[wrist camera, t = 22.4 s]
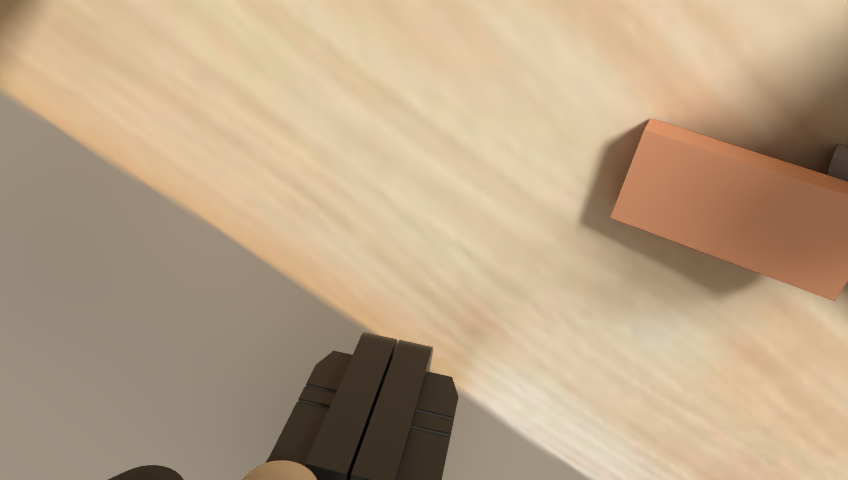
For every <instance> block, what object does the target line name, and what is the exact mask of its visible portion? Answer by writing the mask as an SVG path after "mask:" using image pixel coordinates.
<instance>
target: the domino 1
mask: <svg viewBox="0 0 848 480" xmlns="http://www.w3.org/2000/svg"><path fill="white" fill-rule="evenodd" d="M610 218H612V219H615V220H618V221H620V222H623V223H626V224H628V225H631V226H634V227H637V228H639V229H642V230H645V231H647V232H650V233H653V234H655V235H658V236H661V237H663V238H666V239H669V240H672V241H674V242H677V243H680V244H682V245H685V246H688V247H690V248H693V249H696V250H698V251H701V252H704V253H707V254H709V255H712V256H715V257H717V258H720V259H723V260H725V261H728V262H731V263H734V264H736V265H739V266H742V267H744V268H747V269H750V270H752V271H755V272H758V273H760V274H763V275H766V276H769V277H771V278H774V279H777V280H779V281H782V282H785V283H787V284H790V285H793V286H795V287H798V288H801V289H804V290H806V291H809V292H812V293H814V294H817V295H820V296H822V297H825V298H828V299H830V300H833V301H835V300H836V298H837V297H838V295H839V293H840V292H841V290H842V289H843V287H844V286H845V284H846V283H847V281H848V182H847V181H844V180H841V179H838V178H835V177H832V176H829V175H825V174H822V173H819V172H816V171H813V170H810V169H807V168H804V167H800V166H797V165H794V164H791V163H788V162H785V161H782V160H779V159H776V158H772V157H769V156H766V155H763V154H760V153H757V152H754V151H751V150H747V149H744V148H741V147H738V146H735V145H732V144H729V143H726V142H723V141H719V140H716V139H713V138H710V137H707V136H704V135H701V134H698V133H694V132H691V131H688V130H685V129H682V128H679V127H676V126H673V125H670V124H666V123H663V122H660V121H657V120H654V119H650V120H649V122H648V124H647V126H646V127H645V129H644V132H643V134H642V137H641V139H640V142H639V145H638V147H637V150H636V152H635V155H634V158H633V160H632V163H631V165H630V168H629V170H628V173H627V176H626V178H625V181H624V183H623V186H622V189H621V191H620V194H619V196H618V199H617V201H616V204H615V207H614V209H613V212H612V214H611V217H610Z"/></svg>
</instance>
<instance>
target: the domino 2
mask: <svg viewBox="0 0 848 480" xmlns="http://www.w3.org/2000/svg"><path fill="white" fill-rule="evenodd" d="M827 175H829V176H832V177H835V178H838V179H841V180H844V181H847V182H848V146H844V145H837V147H836V150H835V152H834V155H833V157H832V160H831V163H830V167H829V170H828V173H827Z"/></svg>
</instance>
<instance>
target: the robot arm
mask: <svg viewBox="0 0 848 480" xmlns="http://www.w3.org/2000/svg"><path fill="white" fill-rule="evenodd" d="M432 353H433V347H430V346H425V345H420V344H416V343H411V342H407V341H402V340H399V342H398V344H397V339H393V338H388V337H383V336H379V335H374V334H370V333H365V332H364V333H363V334H362V335H361V338H360V340H359V342H358V344H357V347H356V349H355V351H354V353H353V355H350V354H346V353H342V352H337V351H333V352H332V353H330V354H329V355H328V356H327V357H325V358H324V359H323V360H321V361H320V362H319V363H318V364H316V366H315V368H314V370H313V372H312V373H311V375H310V378H309V380H308V381H307V384H306V387H304V389H303V391H302V393H301V395H300V397H299V401H298V402H297V403H296V405H295V407H294V409H293V411H292V413H291V415H290V417H289V419H288V421H287V423H286V425H285V427H284V429H283V431H282V433H281V435H280V437H279V439H278V441H277V443H276V445H275V447H274V449H273V450H272V452H271V455H270V456H269V458H268V460H267V461H266V463H264V464H262V465H259V466H257V467H256V468H254V469H253V470H251V471H250V472H249V473H248V474H247V475H246V476H245V477H244V478H243V479H242V480H442V475H443V470H444V465H445V460H446V455H447V451H448V446H449V441H450V436H451V430H452V426H453V421H454V416H455V411H456V406H457V401H458V394H457V391H456V388H455V385H454V382H453V379H452V377H449V376H445V375H440V374H436V373H431V372H429V371H430V365H431V359H432ZM109 480H183V478H182V477H181V476H180V475H179V474H178V473H177V472H176V471H174V470H172V469H170V468H167V467H164V466H157V465H148V466H141V467H137V468H133V469H131V470H128V471H126V472H124V473H121V474H119V475H117V476H115V477H113V478H111V479H109Z"/></svg>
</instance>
